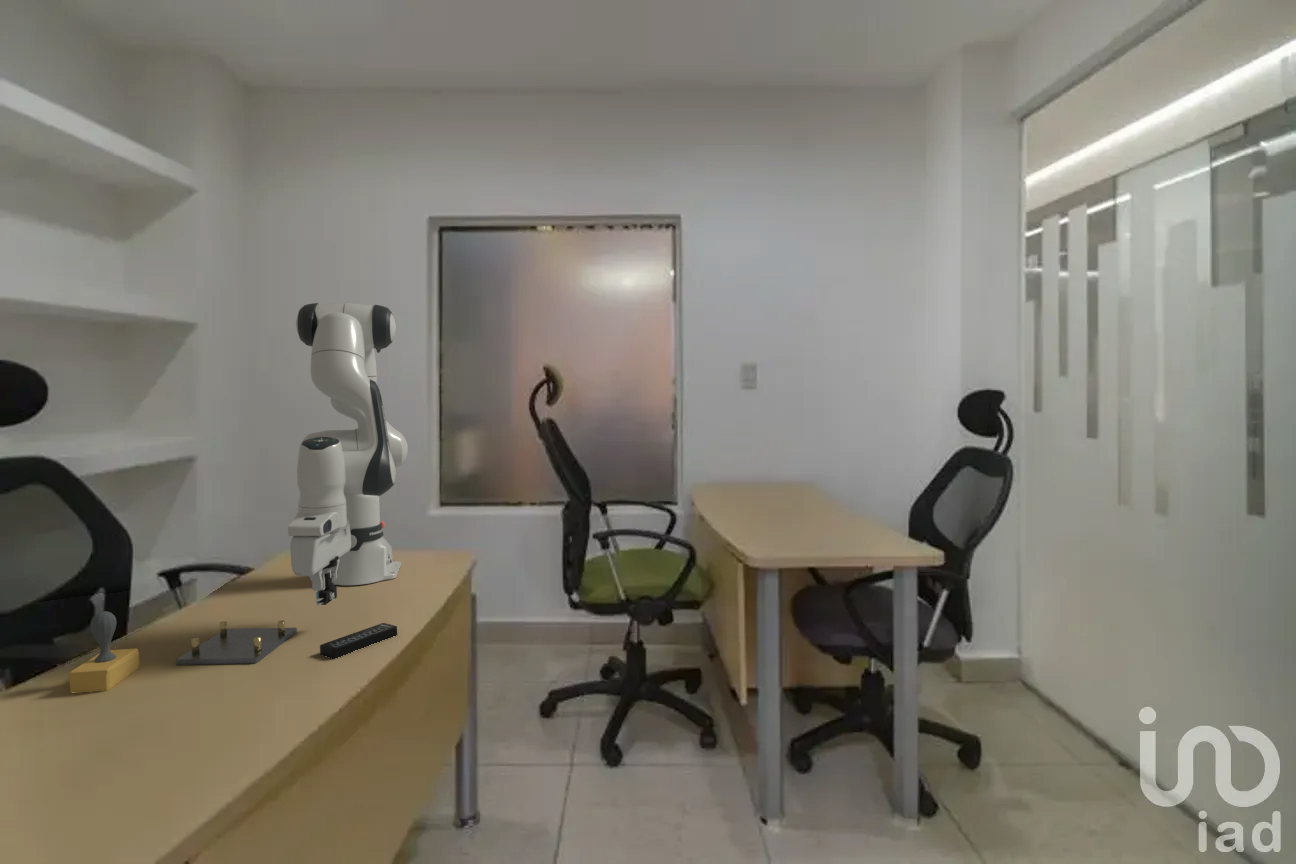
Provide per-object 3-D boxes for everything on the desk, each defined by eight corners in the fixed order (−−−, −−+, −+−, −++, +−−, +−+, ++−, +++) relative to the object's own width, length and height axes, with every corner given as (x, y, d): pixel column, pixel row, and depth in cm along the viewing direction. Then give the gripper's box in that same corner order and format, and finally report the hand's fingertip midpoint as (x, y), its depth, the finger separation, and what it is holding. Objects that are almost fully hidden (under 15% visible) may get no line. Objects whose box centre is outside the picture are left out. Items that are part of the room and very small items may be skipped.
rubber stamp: (109, 691, 115) (105, 620, 114) (68, 694, 113) (65, 622, 113) (140, 667, 124) (137, 601, 124) (103, 670, 123) (100, 603, 122)
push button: (330, 608, 139) (328, 559, 137) (303, 608, 138) (301, 559, 137) (344, 596, 145) (342, 550, 144) (319, 596, 145) (316, 550, 144)
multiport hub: (319, 657, 130) (318, 644, 130) (383, 633, 142) (383, 622, 142) (334, 661, 128) (333, 649, 128) (398, 637, 140) (398, 626, 140)
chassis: (226, 633, 141) (225, 616, 141) (296, 632, 142) (296, 615, 142) (176, 664, 125) (175, 645, 125) (256, 663, 126) (255, 644, 126)
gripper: (328, 508, 151) (330, 570, 152) (283, 529, 131) (285, 601, 132) (357, 508, 151) (359, 570, 152) (317, 529, 131) (319, 601, 132)
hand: (325, 584), depth 142 cm, fingers closed on push button, 5 cm apart
